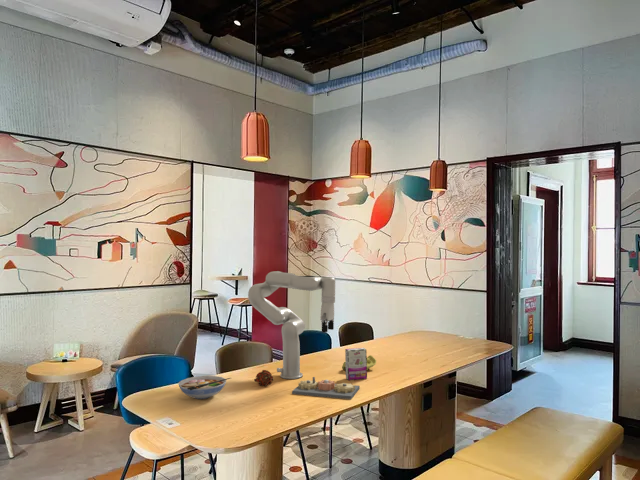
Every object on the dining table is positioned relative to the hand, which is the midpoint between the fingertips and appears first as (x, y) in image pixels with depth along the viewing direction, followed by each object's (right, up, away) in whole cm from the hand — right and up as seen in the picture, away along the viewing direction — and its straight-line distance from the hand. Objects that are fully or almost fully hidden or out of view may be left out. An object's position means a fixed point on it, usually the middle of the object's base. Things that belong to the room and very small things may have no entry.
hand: (327, 330), depth 254 cm
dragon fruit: (-34, -27, -11) cm, 45 cm away
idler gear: (-1, -25, -22) cm, 33 cm away
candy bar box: (+16, -27, +1) cm, 31 cm away
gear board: (-1, -26, -22) cm, 34 cm away
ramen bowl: (-61, -26, -30) cm, 73 cm away
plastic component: (+20, -28, +20) cm, 39 cm away
